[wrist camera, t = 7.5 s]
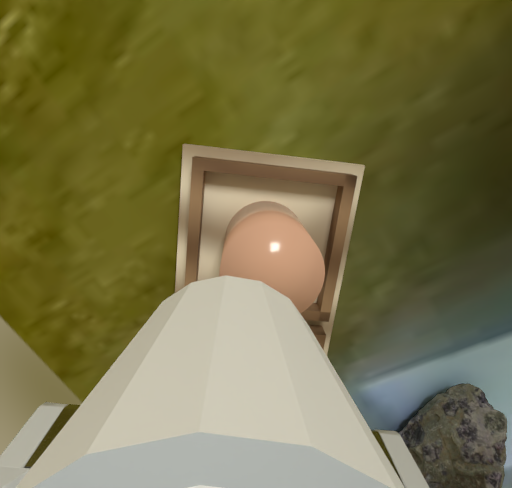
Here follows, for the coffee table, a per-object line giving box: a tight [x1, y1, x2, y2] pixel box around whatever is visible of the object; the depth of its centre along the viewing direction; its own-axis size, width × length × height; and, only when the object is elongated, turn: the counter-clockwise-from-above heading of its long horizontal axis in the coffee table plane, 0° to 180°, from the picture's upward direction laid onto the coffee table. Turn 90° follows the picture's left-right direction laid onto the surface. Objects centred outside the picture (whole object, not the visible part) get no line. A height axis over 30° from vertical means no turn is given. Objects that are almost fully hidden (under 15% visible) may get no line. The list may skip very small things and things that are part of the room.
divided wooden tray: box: [175, 144, 365, 356], centre depth 28 cm, size 25×13×2 cm, turn 173°
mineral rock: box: [399, 384, 507, 488], centre depth 29 cm, size 13×11×10 cm
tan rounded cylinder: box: [219, 201, 325, 314], centre depth 23 cm, size 6×6×7 cm
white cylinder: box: [16, 275, 405, 488], centre depth 8 cm, size 7×7×7 cm
